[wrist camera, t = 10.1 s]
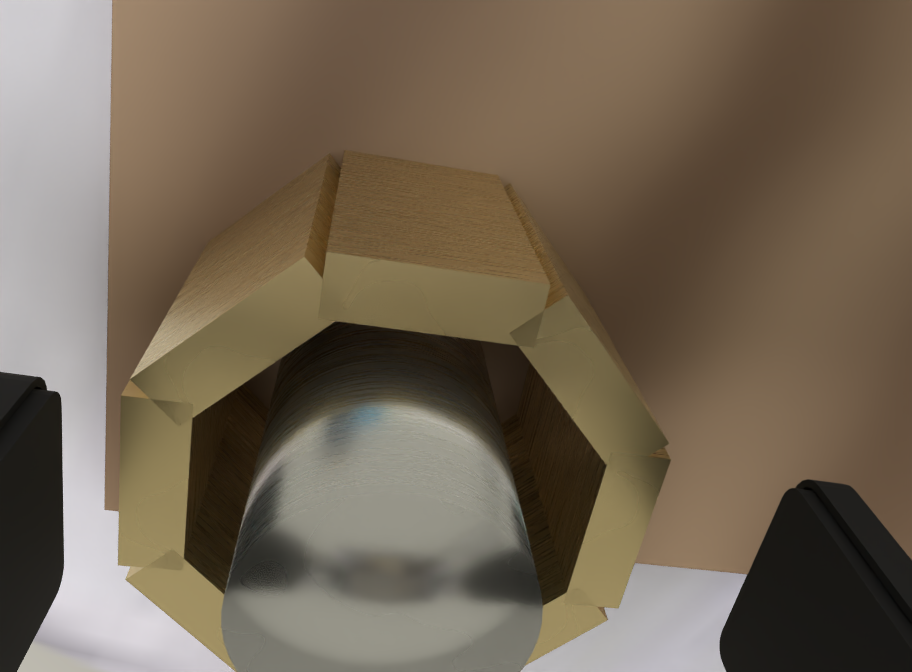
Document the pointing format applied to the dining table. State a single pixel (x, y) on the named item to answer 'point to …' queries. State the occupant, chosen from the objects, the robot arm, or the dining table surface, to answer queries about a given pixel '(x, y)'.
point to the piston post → (382, 516)
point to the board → (582, 205)
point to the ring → (397, 307)
